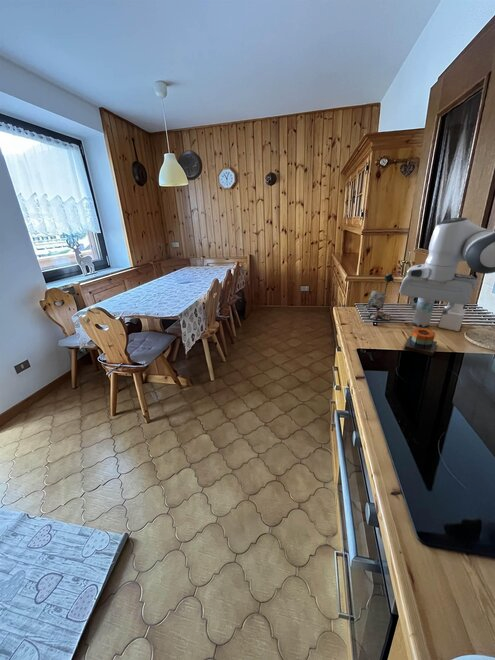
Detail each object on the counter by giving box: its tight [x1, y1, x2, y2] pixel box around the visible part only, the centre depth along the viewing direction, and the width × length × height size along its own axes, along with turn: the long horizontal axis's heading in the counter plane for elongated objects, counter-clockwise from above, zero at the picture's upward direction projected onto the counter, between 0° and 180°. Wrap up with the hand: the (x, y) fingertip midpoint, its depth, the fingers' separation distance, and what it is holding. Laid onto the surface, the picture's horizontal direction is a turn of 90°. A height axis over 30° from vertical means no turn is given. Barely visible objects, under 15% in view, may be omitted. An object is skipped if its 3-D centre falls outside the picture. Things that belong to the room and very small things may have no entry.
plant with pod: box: [363, 272, 395, 321], centre depth 124 cm, size 8×11×20 cm
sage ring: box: [411, 335, 435, 345], centre depth 102 cm, size 7×7×2 cm
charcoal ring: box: [410, 339, 433, 349], centre depth 103 cm, size 7×7×2 cm
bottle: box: [412, 298, 436, 328], centre depth 115 cm, size 7×7×20 cm
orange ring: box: [411, 327, 436, 341], centre depth 101 cm, size 7×7×2 cm
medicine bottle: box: [438, 302, 467, 332], centre depth 114 cm, size 7×7×12 cm
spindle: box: [403, 332, 438, 357], centre depth 102 cm, size 9×9×6 cm
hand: (428, 311), depth 97 cm, fingers open, 8 cm apart
